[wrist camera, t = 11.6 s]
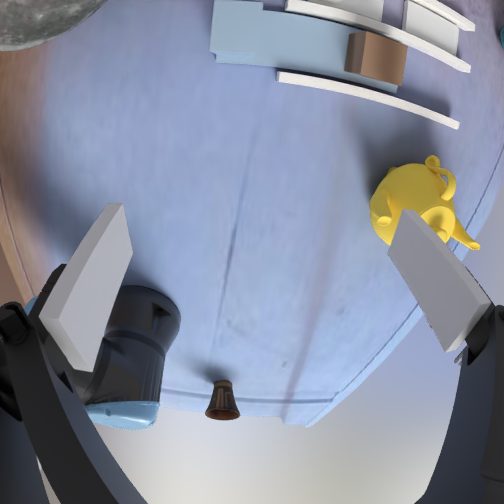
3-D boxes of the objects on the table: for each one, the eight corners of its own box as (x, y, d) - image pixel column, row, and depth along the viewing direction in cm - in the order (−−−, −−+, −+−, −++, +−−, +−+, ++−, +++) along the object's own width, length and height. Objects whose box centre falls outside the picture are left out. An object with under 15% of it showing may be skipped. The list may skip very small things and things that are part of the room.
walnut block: (343, 71, 27) (360, 73, 23) (349, 33, 24) (366, 31, 20) (380, 81, 27) (401, 86, 23) (386, 45, 24) (407, 46, 20)
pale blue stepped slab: (216, 62, 27) (208, 61, 20) (221, 9, 22) (215, -10, 15) (392, 92, 29) (432, 106, 22) (400, 45, 25) (442, 47, 17)
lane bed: (275, 80, 29) (286, 85, 22) (290, -44, 18) (305, -68, 12) (448, 125, 31) (482, 143, 25) (464, 24, 20) (502, 27, 14)
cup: (223, 397, 75) (220, 426, 66) (201, 383, 71) (197, 413, 62) (247, 388, 72) (247, 419, 63) (226, 373, 68) (224, 406, 60)
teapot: (461, 167, 35) (506, 202, 26) (425, 240, 44) (457, 284, 35) (364, 123, 32) (409, 151, 23) (329, 218, 41) (353, 270, 31)
